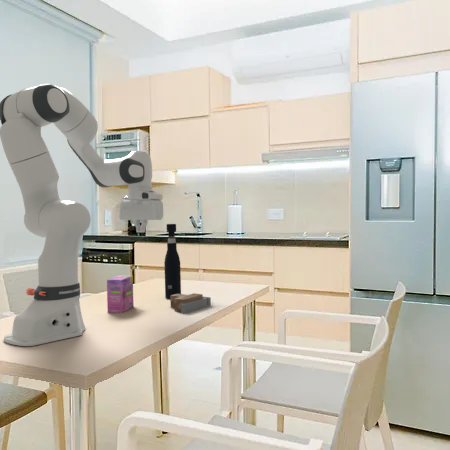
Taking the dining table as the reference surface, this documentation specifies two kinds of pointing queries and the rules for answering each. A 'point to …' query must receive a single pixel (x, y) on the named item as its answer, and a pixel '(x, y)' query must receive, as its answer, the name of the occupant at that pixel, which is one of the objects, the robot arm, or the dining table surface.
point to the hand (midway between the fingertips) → (140, 232)
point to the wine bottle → (172, 265)
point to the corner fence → (195, 305)
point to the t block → (183, 300)
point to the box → (120, 293)
